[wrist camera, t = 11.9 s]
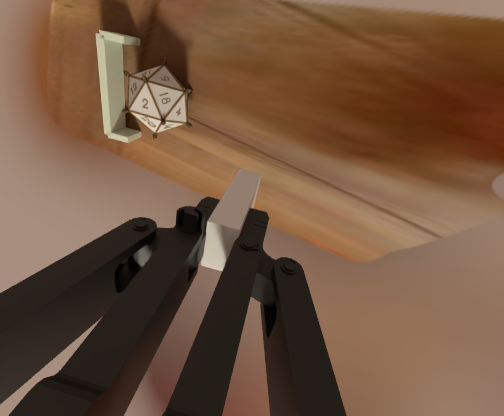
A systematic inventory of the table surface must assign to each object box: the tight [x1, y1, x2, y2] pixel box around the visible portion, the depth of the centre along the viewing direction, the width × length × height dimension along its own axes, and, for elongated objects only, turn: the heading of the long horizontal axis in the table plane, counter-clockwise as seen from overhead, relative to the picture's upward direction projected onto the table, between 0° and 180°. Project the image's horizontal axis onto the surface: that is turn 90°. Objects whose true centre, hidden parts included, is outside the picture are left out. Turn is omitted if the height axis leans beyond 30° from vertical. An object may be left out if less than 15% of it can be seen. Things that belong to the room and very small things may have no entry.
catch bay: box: [96, 30, 141, 143], centre depth 35 cm, size 4×13×4 cm, turn 168°
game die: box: [121, 57, 193, 140], centre depth 32 cm, size 9×8×10 cm
